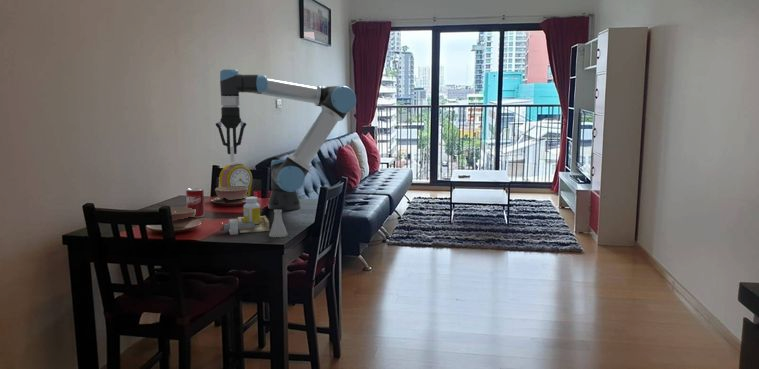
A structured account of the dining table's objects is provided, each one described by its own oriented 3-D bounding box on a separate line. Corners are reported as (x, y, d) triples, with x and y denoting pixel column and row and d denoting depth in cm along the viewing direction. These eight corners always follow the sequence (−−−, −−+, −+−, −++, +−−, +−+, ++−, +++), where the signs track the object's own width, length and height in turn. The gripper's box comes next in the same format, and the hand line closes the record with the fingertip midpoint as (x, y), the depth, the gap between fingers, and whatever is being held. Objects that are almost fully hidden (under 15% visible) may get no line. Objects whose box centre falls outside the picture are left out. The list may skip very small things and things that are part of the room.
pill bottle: (263, 224, 228) (262, 196, 226) (255, 228, 222) (254, 199, 220) (249, 223, 230) (248, 195, 228) (240, 227, 224) (239, 198, 222)
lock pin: (254, 228, 222) (253, 219, 221) (255, 230, 219) (254, 221, 218) (219, 230, 218) (218, 221, 217) (219, 232, 215) (219, 223, 214)
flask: (269, 233, 217) (269, 208, 216) (288, 233, 218) (288, 208, 216) (267, 238, 210) (267, 212, 208) (287, 238, 211) (286, 212, 209)
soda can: (199, 218, 242) (198, 191, 240) (184, 217, 243) (182, 190, 241) (207, 215, 249) (206, 188, 247) (192, 214, 250) (191, 187, 248)
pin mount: (237, 230, 221) (236, 218, 221) (238, 234, 216) (237, 222, 215) (229, 231, 220) (228, 219, 220) (230, 234, 215) (229, 222, 214)
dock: (265, 223, 233) (265, 215, 233) (269, 230, 221) (269, 222, 221) (237, 225, 230) (237, 217, 229) (239, 232, 218) (239, 224, 217)
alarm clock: (228, 201, 280) (227, 165, 277) (219, 199, 285) (218, 163, 282) (253, 197, 290) (252, 162, 288) (244, 195, 296) (243, 161, 293)
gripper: (245, 106, 243) (247, 160, 247) (214, 106, 239) (216, 161, 243) (246, 106, 236) (248, 162, 240) (214, 106, 232) (216, 163, 236)
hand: (232, 161), depth 241 cm, fingers closed
